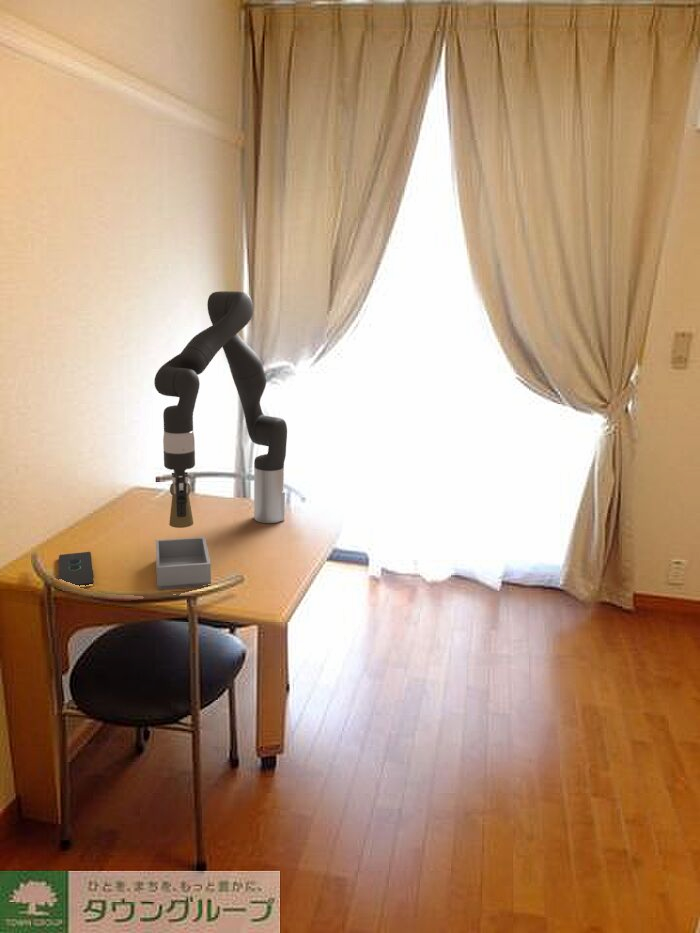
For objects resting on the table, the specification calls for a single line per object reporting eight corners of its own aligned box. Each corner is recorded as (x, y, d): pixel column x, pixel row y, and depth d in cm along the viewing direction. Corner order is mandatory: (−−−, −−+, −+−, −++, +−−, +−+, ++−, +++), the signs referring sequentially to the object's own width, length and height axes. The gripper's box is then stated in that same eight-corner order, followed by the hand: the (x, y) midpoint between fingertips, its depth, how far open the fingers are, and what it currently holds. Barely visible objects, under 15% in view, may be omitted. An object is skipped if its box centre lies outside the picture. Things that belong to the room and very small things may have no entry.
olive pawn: (171, 519, 179) (169, 478, 176) (195, 519, 179) (194, 479, 176) (167, 527, 173) (165, 485, 170) (191, 527, 174) (190, 486, 171)
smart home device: (91, 550, 188) (94, 581, 170) (91, 556, 188) (94, 588, 171) (58, 554, 185) (57, 586, 167) (58, 560, 185) (58, 592, 168)
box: (205, 557, 190) (204, 536, 188) (210, 585, 173) (210, 563, 172) (156, 560, 186) (155, 540, 185) (157, 590, 170) (156, 567, 168)
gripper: (196, 455, 165) (198, 522, 170) (192, 440, 178) (194, 503, 183) (164, 456, 163) (166, 524, 168) (162, 441, 176) (165, 505, 181)
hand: (181, 513), depth 175 cm, fingers closed on olive pawn, 4 cm apart
